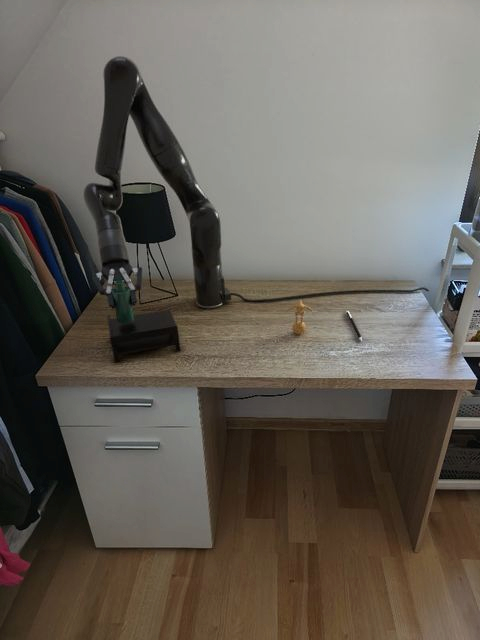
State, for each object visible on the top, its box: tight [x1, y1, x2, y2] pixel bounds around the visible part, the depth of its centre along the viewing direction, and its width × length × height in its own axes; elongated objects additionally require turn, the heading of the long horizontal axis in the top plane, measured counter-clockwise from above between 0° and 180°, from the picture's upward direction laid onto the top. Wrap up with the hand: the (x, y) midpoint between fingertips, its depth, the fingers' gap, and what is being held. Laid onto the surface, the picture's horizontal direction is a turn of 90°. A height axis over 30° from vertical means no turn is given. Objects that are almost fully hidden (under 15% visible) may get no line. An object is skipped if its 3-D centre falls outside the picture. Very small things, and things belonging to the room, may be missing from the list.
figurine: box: [284, 299, 315, 335], centre depth 140 cm, size 8×6×12 cm
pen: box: [346, 310, 363, 342], centre depth 146 cm, size 1×19×1 cm, turn 4°
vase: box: [112, 280, 135, 323], centre depth 133 cm, size 5×5×12 cm
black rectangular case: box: [106, 309, 181, 363], centre depth 137 cm, size 18×13×8 cm
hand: (123, 305), depth 132 cm, fingers closed on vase, 5 cm apart
